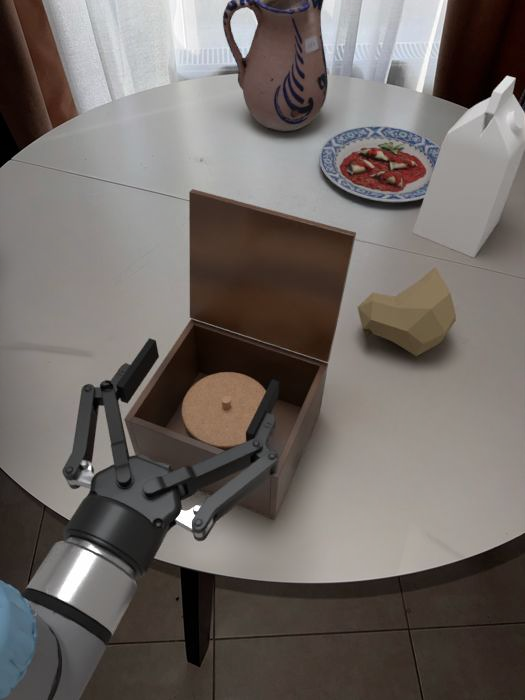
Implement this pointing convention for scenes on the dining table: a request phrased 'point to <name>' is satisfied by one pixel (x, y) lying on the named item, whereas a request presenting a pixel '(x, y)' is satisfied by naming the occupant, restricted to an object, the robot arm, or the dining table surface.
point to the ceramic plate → (380, 163)
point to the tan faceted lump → (411, 314)
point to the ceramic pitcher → (282, 61)
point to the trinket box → (221, 409)
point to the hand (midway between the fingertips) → (213, 367)
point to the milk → (474, 173)
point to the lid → (267, 273)
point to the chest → (239, 357)
